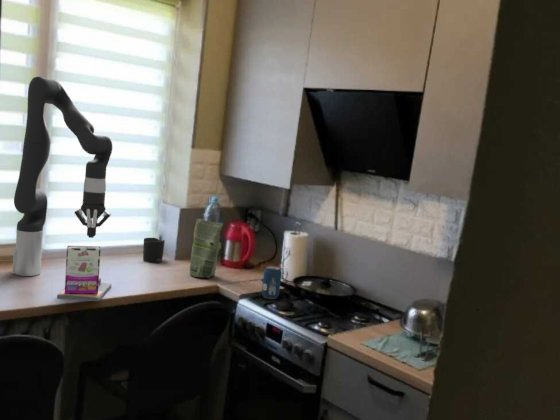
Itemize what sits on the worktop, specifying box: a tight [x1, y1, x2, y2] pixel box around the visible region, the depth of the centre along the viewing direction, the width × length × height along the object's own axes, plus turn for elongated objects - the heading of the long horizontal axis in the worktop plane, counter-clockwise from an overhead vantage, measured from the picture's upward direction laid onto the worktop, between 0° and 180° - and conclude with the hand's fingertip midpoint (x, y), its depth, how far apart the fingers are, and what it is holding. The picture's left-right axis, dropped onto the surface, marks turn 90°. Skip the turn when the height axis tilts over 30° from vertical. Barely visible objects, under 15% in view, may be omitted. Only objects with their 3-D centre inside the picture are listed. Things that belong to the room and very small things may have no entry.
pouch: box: [189, 218, 224, 279], centre depth 244 cm, size 11×12×25 cm
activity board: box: [56, 277, 112, 302], centre depth 205 cm, size 14×19×3 cm
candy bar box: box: [64, 245, 101, 294], centre depth 199 cm, size 11×5×16 cm, turn 109°
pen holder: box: [142, 237, 165, 264], centre depth 263 cm, size 9×9×10 cm
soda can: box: [261, 265, 282, 300], centre depth 224 cm, size 7×7×12 cm
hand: (91, 237), depth 207 cm, fingers closed
